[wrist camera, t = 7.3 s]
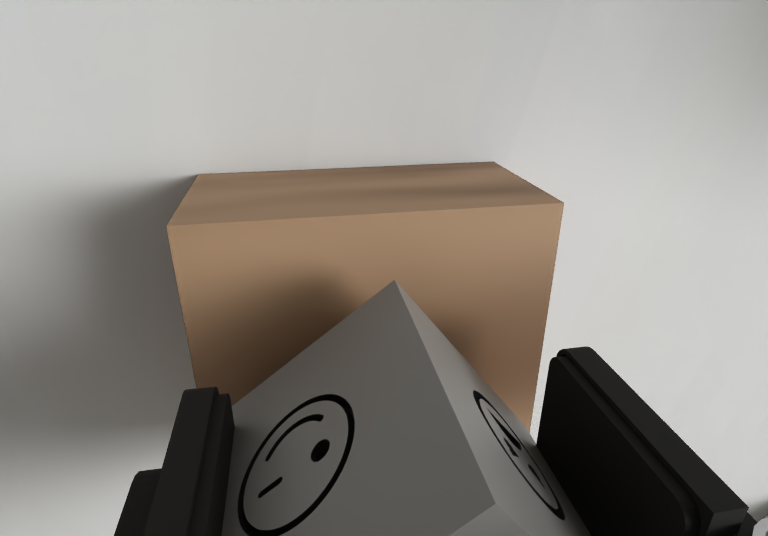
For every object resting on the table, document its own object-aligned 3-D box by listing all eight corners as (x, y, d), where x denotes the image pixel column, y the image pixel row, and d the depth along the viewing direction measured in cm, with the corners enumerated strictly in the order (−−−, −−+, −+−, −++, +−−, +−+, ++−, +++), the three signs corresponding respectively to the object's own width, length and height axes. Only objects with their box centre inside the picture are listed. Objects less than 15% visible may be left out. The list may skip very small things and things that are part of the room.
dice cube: (394, 279, 9) (495, 503, 5) (524, 426, 12) (678, 674, 7) (195, 434, 10) (125, 757, 6) (354, 545, 12) (395, 843, 8)
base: (198, 174, 13) (166, 226, 9) (493, 161, 14) (563, 202, 11) (235, 419, 16) (222, 526, 13) (473, 391, 18) (522, 481, 14)
